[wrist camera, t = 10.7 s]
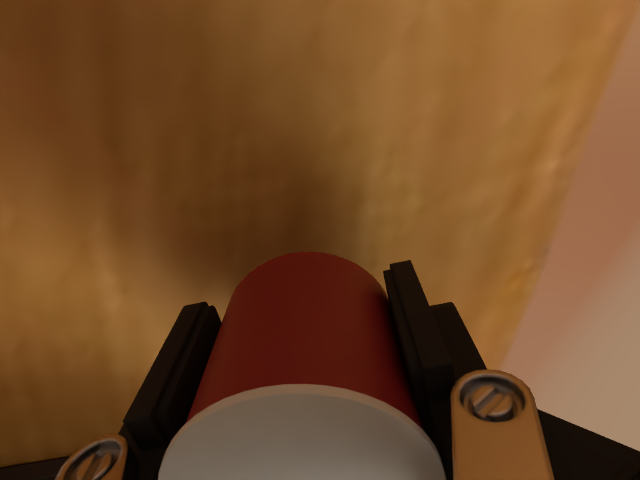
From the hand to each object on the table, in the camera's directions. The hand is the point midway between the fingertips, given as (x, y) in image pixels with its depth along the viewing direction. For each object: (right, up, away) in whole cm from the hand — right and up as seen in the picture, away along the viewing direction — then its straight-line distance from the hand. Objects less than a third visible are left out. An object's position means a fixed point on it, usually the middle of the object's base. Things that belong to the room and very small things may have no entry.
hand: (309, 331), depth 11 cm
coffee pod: (0, 0, 0) cm, 0 cm away
